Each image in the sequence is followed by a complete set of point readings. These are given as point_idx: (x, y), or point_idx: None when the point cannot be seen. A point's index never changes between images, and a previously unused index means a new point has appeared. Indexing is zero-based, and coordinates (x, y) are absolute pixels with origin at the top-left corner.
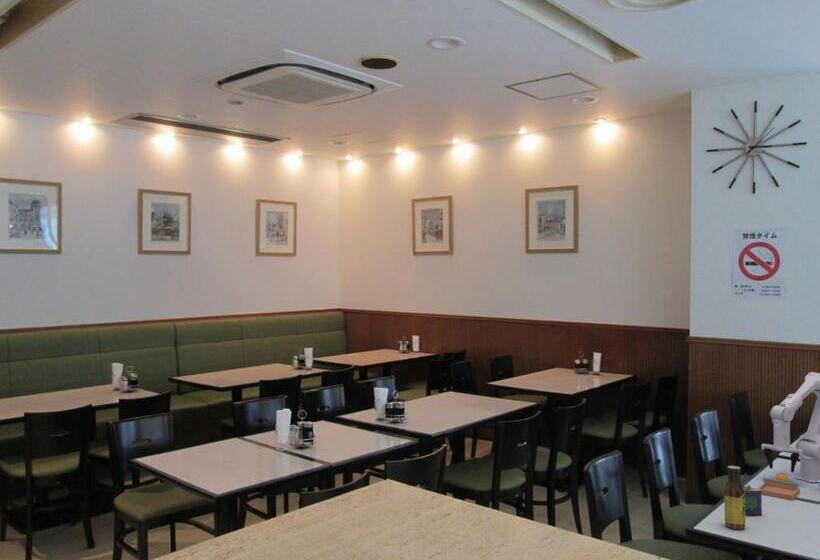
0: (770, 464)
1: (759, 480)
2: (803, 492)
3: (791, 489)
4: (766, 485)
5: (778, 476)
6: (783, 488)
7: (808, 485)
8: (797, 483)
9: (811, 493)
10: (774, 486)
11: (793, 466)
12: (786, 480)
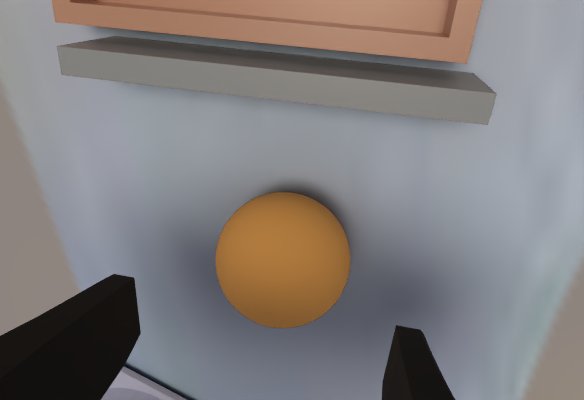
0: (415, 370)
1: (515, 259)
2: None
3: (154, 7)
4: (441, 32)
5: (307, 234)
6: (241, 13)
7: None
8: (69, 75)
9: (9, 61)
10: (343, 23)
11: (34, 320)
12: (231, 218)
